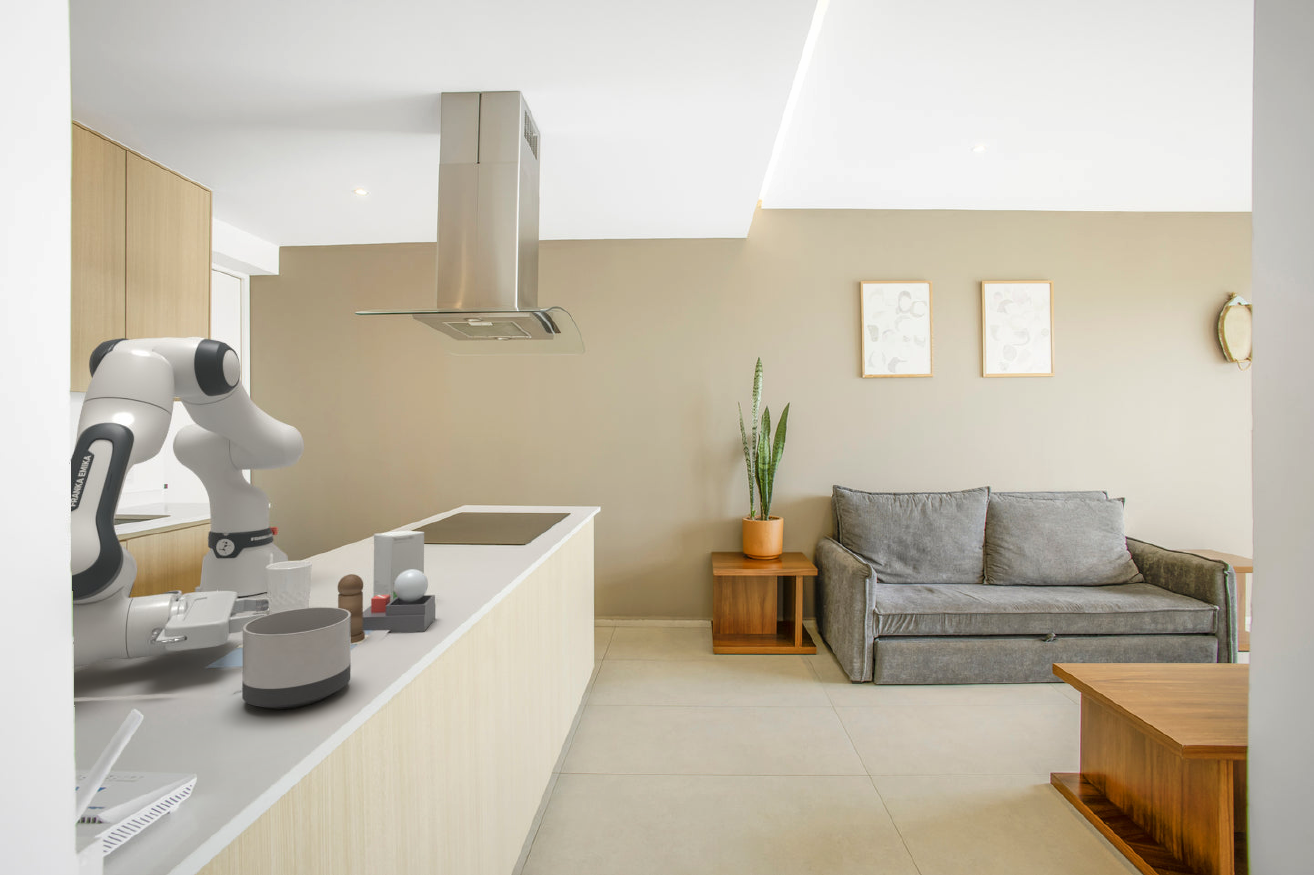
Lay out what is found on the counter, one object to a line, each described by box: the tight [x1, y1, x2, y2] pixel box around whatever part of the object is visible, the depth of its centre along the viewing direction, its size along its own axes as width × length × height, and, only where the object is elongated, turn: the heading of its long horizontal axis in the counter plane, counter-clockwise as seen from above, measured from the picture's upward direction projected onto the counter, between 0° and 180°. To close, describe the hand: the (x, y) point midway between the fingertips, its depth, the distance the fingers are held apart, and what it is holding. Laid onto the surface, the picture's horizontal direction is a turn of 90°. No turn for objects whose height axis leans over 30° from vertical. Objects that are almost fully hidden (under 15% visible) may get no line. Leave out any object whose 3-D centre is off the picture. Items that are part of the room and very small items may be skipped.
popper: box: [363, 594, 436, 634], centre depth 113 cm, size 8×12×6 cm, turn 97°
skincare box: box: [372, 530, 425, 602], centre depth 126 cm, size 8×7×16 cm
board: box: [204, 630, 374, 669], centre depth 100 cm, size 16×20×1 cm
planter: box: [241, 606, 352, 710], centre depth 83 cm, size 13×13×10 cm
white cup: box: [266, 560, 313, 615], centre depth 120 cm, size 8×8×10 cm
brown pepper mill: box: [337, 573, 365, 643], centre depth 103 cm, size 4×4×11 cm
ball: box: [394, 569, 429, 602], centre depth 113 cm, size 6×6×6 cm
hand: (267, 611), depth 97 cm, fingers open, 8 cm apart
